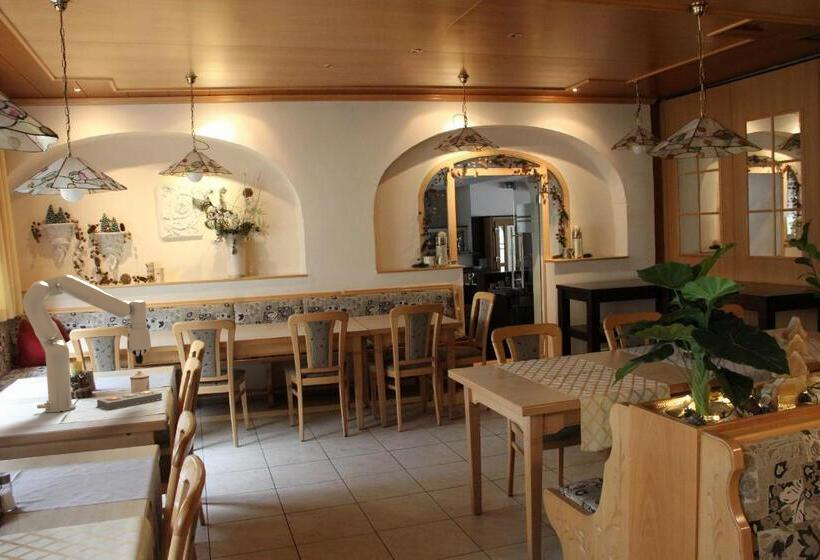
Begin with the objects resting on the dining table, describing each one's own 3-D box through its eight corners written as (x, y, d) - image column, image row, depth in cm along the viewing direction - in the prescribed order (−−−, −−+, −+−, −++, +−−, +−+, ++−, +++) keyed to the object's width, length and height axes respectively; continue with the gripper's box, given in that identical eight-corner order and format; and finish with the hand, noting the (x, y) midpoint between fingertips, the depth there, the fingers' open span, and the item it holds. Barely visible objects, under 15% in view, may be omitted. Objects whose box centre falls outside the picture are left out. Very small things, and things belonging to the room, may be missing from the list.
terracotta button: (110, 406, 323) (110, 399, 322) (105, 404, 326) (105, 398, 326) (121, 404, 326) (120, 397, 326) (116, 402, 330) (116, 396, 329)
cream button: (143, 399, 334) (143, 393, 334) (138, 398, 338) (138, 392, 337) (153, 397, 338) (153, 391, 338) (148, 396, 341) (148, 390, 341)
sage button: (127, 403, 328) (127, 396, 328) (122, 401, 332) (122, 395, 332) (137, 401, 332) (137, 394, 332) (132, 399, 335) (132, 393, 335)
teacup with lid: (151, 394, 350) (150, 371, 349) (132, 396, 346) (130, 373, 345) (147, 390, 360) (146, 367, 360) (129, 392, 356) (128, 369, 356)
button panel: (108, 409, 318) (108, 403, 318) (97, 405, 327) (97, 399, 326) (161, 399, 337) (161, 393, 337) (150, 395, 345) (150, 389, 345)
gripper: (126, 328, 328) (127, 366, 329) (156, 325, 339) (157, 362, 340) (119, 326, 333) (120, 364, 334) (149, 324, 344) (150, 361, 345)
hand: (139, 363), depth 337 cm, fingers closed
